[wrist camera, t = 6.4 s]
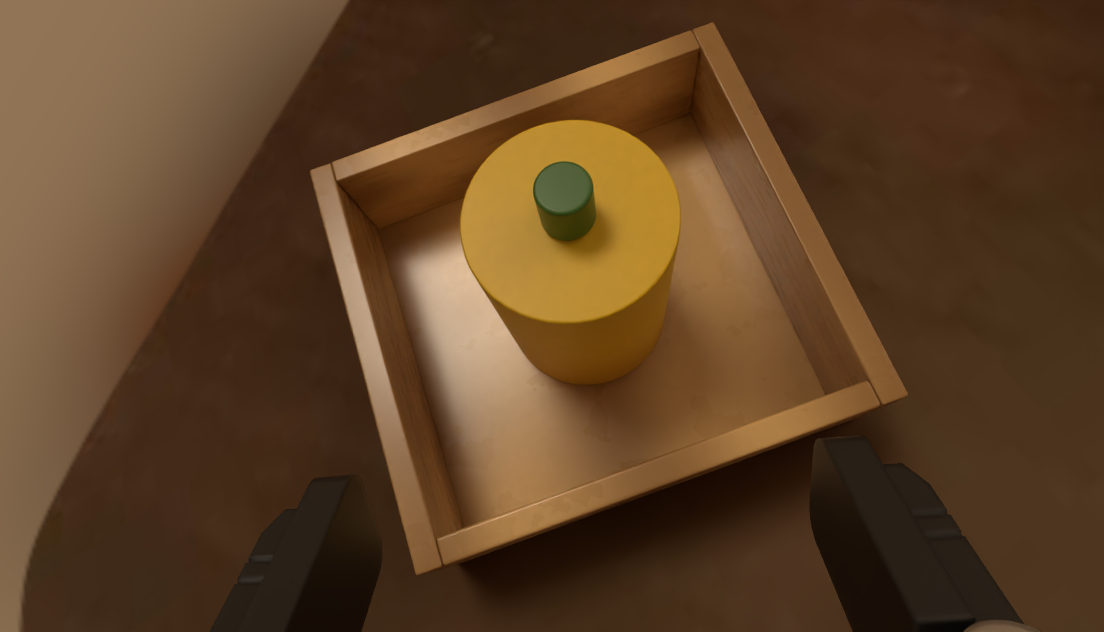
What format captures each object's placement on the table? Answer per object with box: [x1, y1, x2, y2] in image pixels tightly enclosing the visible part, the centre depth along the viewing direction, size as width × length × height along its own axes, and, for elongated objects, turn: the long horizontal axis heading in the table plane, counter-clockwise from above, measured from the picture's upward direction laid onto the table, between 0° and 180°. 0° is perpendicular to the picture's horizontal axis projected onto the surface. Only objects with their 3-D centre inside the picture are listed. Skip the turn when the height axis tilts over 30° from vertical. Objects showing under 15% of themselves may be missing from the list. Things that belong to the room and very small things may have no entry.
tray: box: [310, 23, 908, 575], centre depth 23 cm, size 15×14×5 cm
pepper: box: [460, 120, 681, 385], centre depth 20 cm, size 6×6×10 cm
